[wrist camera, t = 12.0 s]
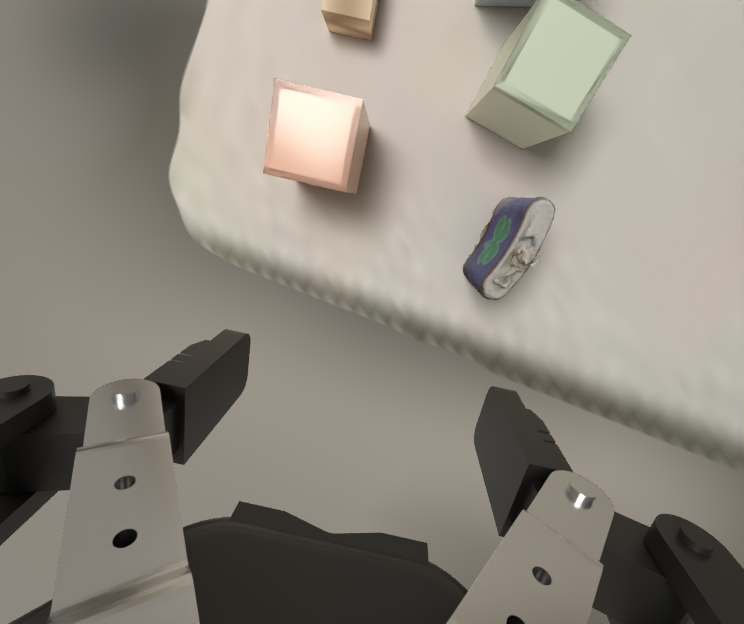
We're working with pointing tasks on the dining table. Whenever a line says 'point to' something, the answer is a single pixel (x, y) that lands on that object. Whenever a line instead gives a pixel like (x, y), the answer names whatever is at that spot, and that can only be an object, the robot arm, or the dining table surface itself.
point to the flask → (509, 245)
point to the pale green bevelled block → (547, 72)
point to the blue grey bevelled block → (505, 3)
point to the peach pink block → (316, 137)
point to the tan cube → (350, 17)
